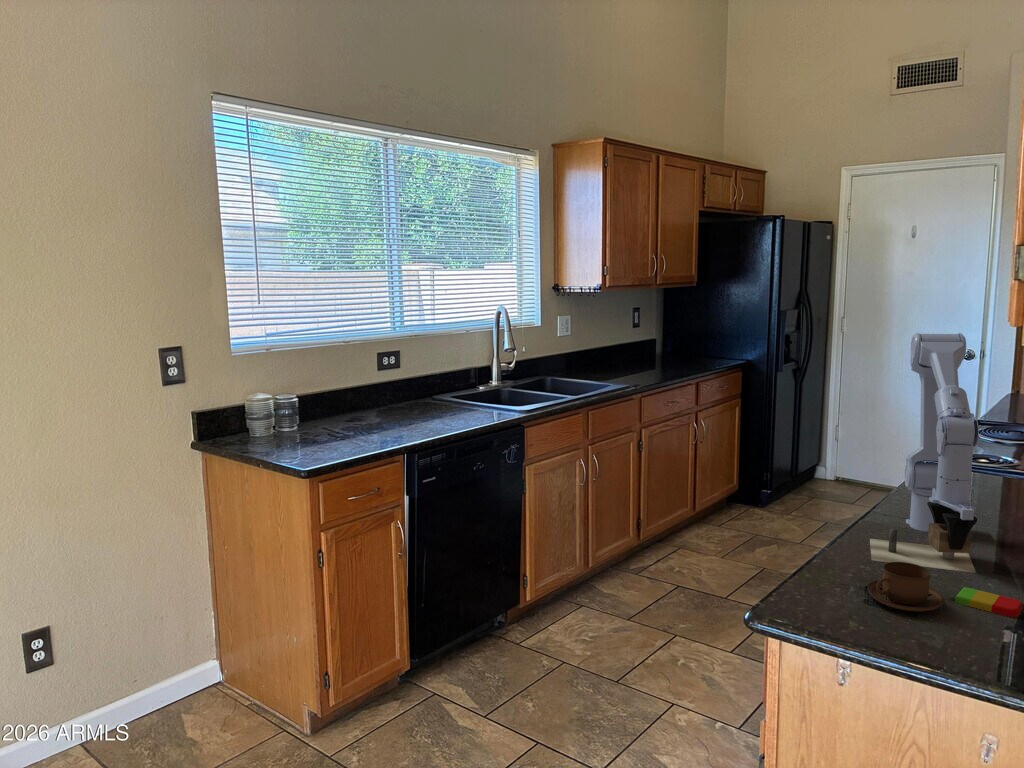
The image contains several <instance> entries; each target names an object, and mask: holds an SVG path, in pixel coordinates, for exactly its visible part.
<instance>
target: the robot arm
mask: <svg viewBox="0 0 1024 768" xmlns="http://www.w3.org/2000/svg"><path fill="white" fill-rule="evenodd" d="M966 353H967V339H966V337H965V336H964V335H963V333H961V332H960V333H919V332H915V334H913V335H912V337H911V341H910V361H909V362H910V368H911V371H912V372H914V373H916V374H918V375H919V380H920V429H919V430H920V433H919V434H920V435H919V437H920V438H919V439H920V443H919V445H920V446H919V447H918V448H916V449H915V450H913V451H912V452H910V453H909V454H907V456H906V458H905V459H906V460H905V468H904V484H905V487H906V488H907V489H908V490H909V491H911V494H910V495H911V496H910V497H911V498H910V510H909V511H910V513H909V518H906V519H905V523H906V524H907V525H909V527H911V528H912V529H914V530H916V531H921V532H925V533H928V529H929V523H942V524H946V526H947V531H948V543H949V548H950V549H951V550H962V549H963V546H964V544H965V541H966V538H967V536H968V534H969V532H970V533H971V529H973V527H974V526H975V525H976V524H977V522H978V518H977V517H976V516H975V510H974V509H973V508H972V502H971V500H970V496H971V495H970V494H971V480H972V479H971V478H972V470H973V469H972V466H973V457H974V456H973V453H974V448H975V447H976V446H977V445H978V443H979V437H980V428H979V421H978V418H977V417H976V416H975V414H974V413H972V412H971V409H970V404H969V399H968V394H967V392H966V390H965V389H963V388H962V387H960V385H959V384H960V383H959V374H958V373H959V372H958V369H959V368H960V366H961V365H962V362H963V361H964V359H965V357H966ZM919 461H924V462H919ZM925 461H926V462H925ZM928 461H929V462H928ZM933 462H934V463H933ZM935 462H937V463H935Z"/></svg>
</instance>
